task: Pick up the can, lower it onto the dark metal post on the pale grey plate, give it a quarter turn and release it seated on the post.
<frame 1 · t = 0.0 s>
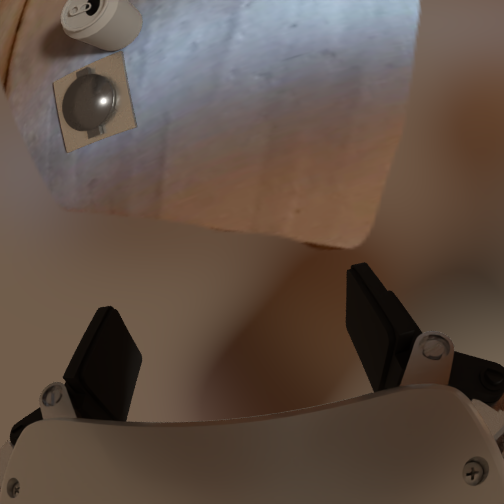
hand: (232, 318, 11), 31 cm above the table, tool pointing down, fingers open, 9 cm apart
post: (93, 102, 32), on the table
can: (120, 29, 28), on the table
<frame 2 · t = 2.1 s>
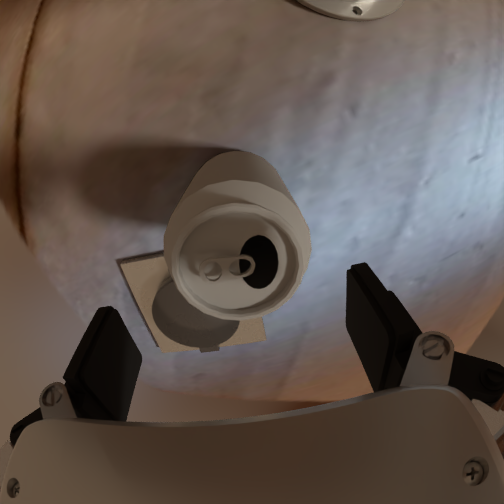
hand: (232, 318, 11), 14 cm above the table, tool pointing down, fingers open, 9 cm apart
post: (197, 301, 28), on the table
can: (237, 193, 24), on the table
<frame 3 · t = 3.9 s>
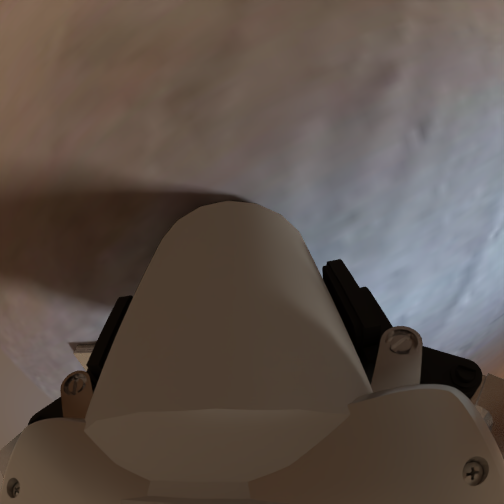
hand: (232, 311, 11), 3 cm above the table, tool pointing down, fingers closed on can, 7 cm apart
can: (233, 266, 15), on the table, touching gripper
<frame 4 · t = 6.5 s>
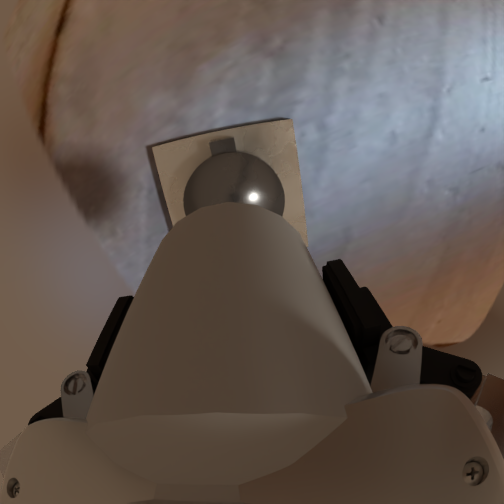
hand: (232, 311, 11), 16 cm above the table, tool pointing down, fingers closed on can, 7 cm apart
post: (234, 195, 26), on the table
can: (233, 267, 15), point 13 cm above the table, touching gripper
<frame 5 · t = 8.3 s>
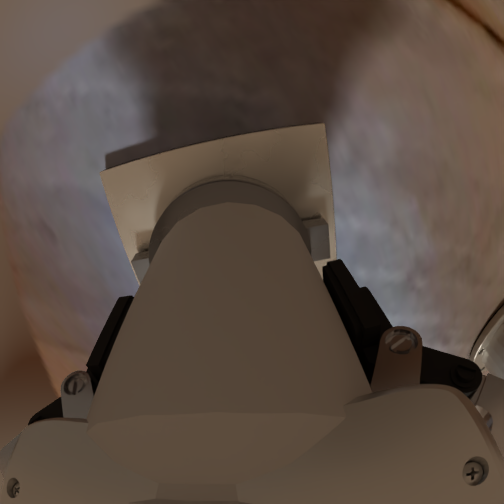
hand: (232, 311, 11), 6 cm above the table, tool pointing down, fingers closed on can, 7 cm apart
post: (230, 243, 17), on the table
can: (233, 267, 15), point 3 cm above the table, touching gripper
when the fingers open (6 cm above the table, at t = 9.5 s): can stays where it is, resting on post.
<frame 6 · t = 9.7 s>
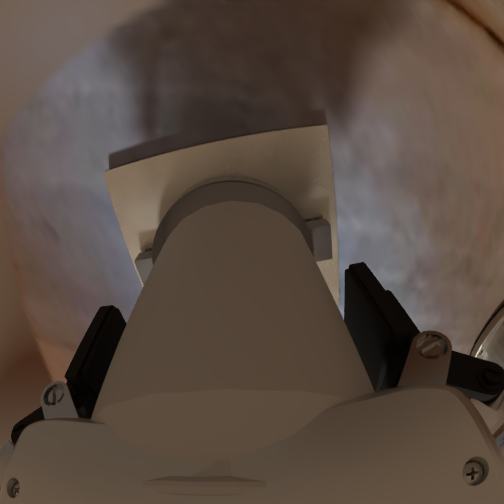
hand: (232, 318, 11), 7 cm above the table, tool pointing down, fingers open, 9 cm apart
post: (232, 244, 17), on the table
can: (236, 264, 15), point 2 cm above the table, touching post
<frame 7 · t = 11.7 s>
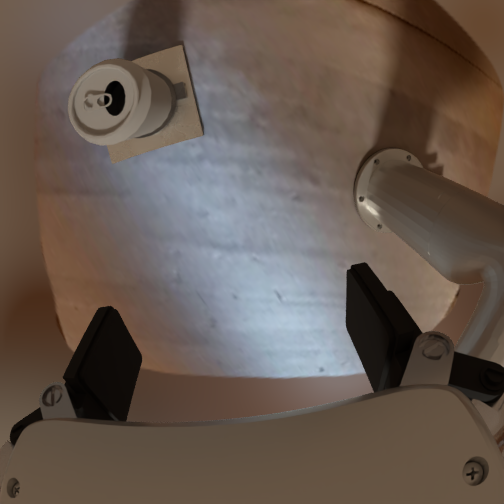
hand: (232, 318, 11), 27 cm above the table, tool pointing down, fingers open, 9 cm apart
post: (145, 103, 30), on the table
can: (141, 103, 28), point 2 cm above the table, touching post
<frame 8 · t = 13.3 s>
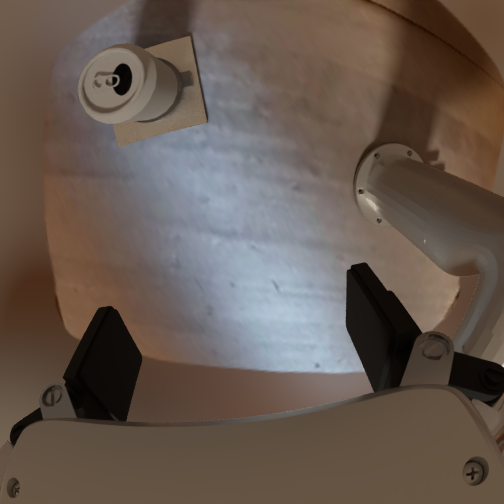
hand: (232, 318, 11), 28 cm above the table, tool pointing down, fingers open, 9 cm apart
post: (152, 90, 30), on the table
can: (149, 90, 29), point 2 cm above the table, touching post
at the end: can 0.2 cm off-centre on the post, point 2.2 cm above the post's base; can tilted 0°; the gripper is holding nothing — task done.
